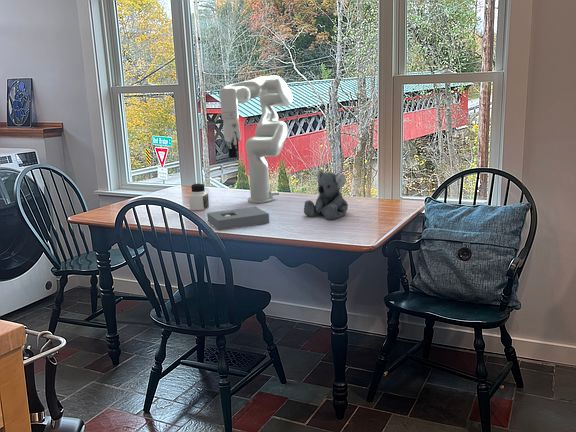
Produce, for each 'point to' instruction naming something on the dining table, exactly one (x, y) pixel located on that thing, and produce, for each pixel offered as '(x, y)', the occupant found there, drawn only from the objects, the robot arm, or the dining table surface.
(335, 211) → the koala plush
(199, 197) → the medicine bottle
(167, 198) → the dining table surface
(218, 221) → the grey flat block
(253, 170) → the robot arm
